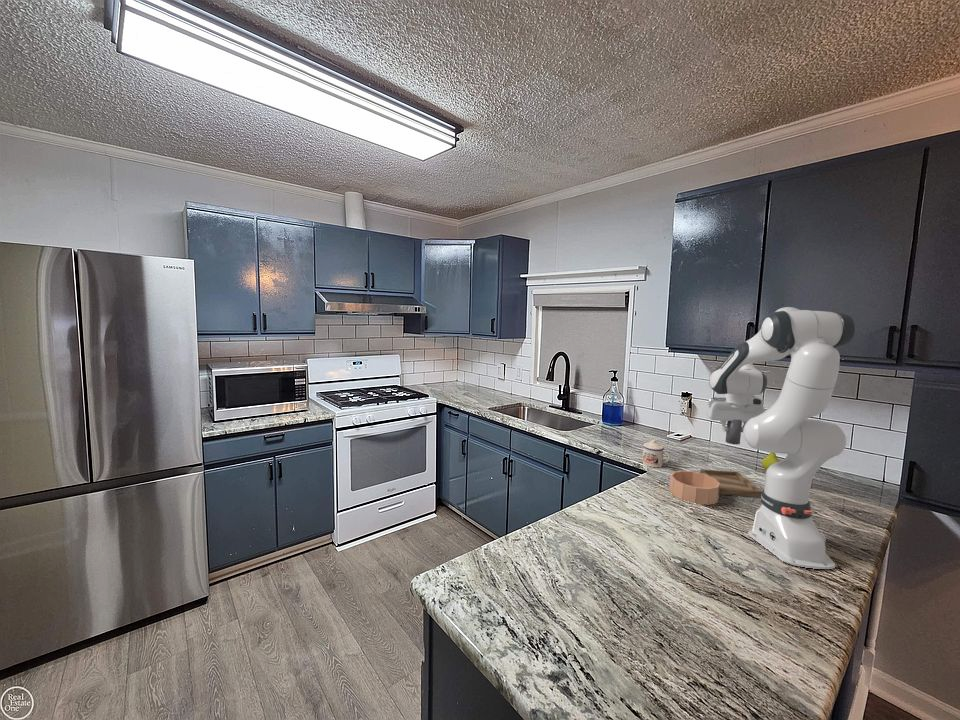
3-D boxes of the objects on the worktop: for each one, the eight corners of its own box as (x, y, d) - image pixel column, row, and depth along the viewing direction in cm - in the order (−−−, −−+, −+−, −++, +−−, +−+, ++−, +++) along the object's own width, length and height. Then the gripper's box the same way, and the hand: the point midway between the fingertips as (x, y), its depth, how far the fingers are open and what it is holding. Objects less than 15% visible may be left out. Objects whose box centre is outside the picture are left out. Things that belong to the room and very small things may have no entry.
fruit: (771, 475, 177) (774, 449, 175) (757, 469, 183) (759, 444, 182) (783, 473, 179) (786, 447, 177) (768, 468, 185) (771, 443, 184)
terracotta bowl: (725, 507, 147) (727, 490, 146) (677, 503, 149) (679, 486, 148) (707, 487, 163) (708, 472, 162) (664, 484, 165) (665, 469, 165)
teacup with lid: (639, 464, 187) (640, 440, 185) (645, 459, 194) (646, 436, 192) (666, 471, 179) (668, 446, 178) (671, 465, 186) (673, 441, 185)
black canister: (742, 444, 160) (744, 420, 159) (728, 444, 161) (731, 419, 160) (736, 440, 165) (738, 417, 164) (723, 440, 166) (725, 416, 165)
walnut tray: (761, 498, 154) (762, 492, 154) (719, 495, 156) (720, 489, 156) (736, 477, 174) (737, 471, 174) (699, 474, 176) (700, 469, 176)
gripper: (712, 398, 159) (709, 432, 161) (768, 401, 156) (765, 435, 158) (706, 395, 165) (703, 427, 167) (760, 397, 162) (756, 430, 164)
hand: (733, 431), depth 162 cm, fingers closed on black canister, 5 cm apart
